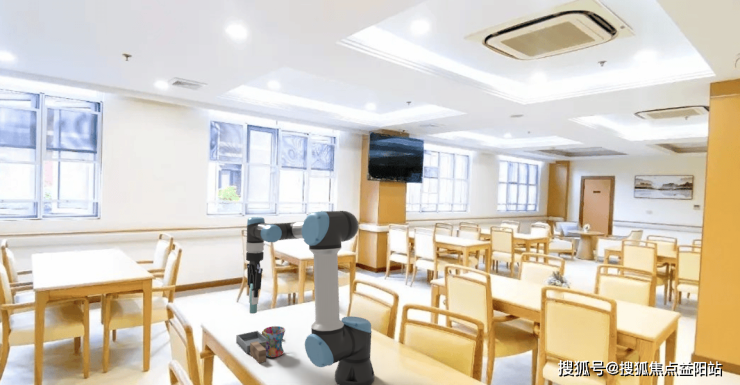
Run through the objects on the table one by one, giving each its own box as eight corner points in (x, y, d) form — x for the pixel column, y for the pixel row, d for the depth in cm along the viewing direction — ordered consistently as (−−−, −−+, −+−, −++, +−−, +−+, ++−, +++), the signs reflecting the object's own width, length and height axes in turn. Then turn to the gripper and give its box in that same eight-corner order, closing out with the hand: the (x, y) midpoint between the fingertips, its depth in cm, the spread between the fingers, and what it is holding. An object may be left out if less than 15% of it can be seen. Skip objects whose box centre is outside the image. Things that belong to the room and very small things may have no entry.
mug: (275, 361, 160) (276, 335, 159) (257, 356, 163) (258, 331, 163) (292, 350, 171) (293, 326, 170) (275, 345, 174) (276, 322, 174)
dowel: (258, 312, 173) (258, 284, 173) (251, 314, 171) (252, 285, 171) (255, 310, 176) (256, 282, 175) (248, 311, 174) (249, 283, 173)
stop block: (265, 361, 159) (266, 349, 159) (258, 363, 157) (259, 351, 157) (256, 352, 167) (257, 341, 167) (250, 354, 165) (250, 342, 165)
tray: (269, 348, 171) (269, 340, 171) (246, 353, 165) (247, 345, 165) (257, 337, 182) (257, 330, 182) (236, 342, 176) (236, 335, 176)
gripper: (269, 253, 169) (268, 306, 169) (256, 248, 181) (255, 297, 182) (253, 255, 164) (251, 309, 165) (240, 249, 177) (239, 299, 177)
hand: (253, 303), depth 173 cm, fingers closed on dowel, 3 cm apart
